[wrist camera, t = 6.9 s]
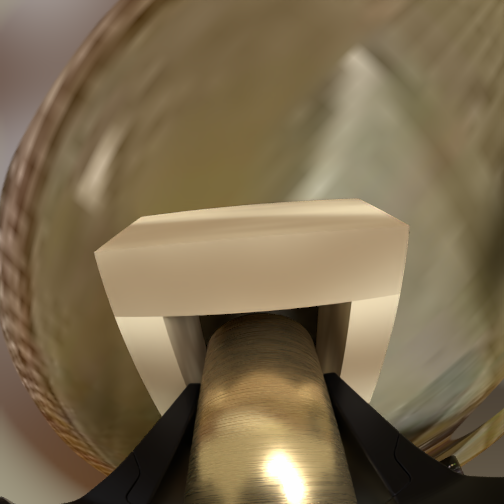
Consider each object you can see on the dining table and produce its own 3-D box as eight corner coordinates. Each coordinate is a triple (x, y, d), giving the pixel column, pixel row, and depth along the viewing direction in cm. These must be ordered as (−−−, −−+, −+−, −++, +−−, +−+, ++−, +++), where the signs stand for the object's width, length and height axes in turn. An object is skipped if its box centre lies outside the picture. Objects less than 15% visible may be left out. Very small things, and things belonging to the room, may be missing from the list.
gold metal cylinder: (311, 384, 10) (343, 537, 4) (216, 391, 10) (203, 546, 4) (316, 307, 9) (387, 514, 2) (197, 316, 9) (151, 528, 2)
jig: (341, 373, 14) (363, 439, 10) (187, 385, 14) (174, 453, 10) (358, 198, 10) (424, 234, 6) (141, 217, 11) (80, 263, 6)
